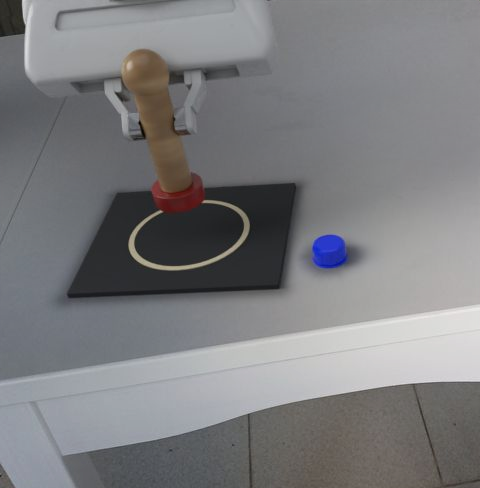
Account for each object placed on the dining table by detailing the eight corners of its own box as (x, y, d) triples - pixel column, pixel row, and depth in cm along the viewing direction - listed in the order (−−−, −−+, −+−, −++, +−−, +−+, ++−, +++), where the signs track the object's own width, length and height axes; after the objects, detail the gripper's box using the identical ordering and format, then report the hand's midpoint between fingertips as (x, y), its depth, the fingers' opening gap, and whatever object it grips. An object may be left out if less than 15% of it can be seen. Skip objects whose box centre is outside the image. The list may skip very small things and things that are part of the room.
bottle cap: (307, 265, 62) (304, 249, 61) (322, 246, 64) (320, 229, 63) (339, 272, 61) (337, 255, 60) (353, 252, 63) (351, 235, 62)
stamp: (150, 214, 62) (102, 64, 53) (161, 187, 65) (118, 41, 56) (200, 212, 62) (161, 60, 53) (209, 184, 65) (173, 36, 56)
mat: (68, 299, 61) (65, 292, 61) (118, 197, 73) (116, 191, 72) (279, 290, 60) (278, 283, 59) (296, 187, 71) (295, 181, 71)
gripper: (1, -40, 56) (15, 136, 56) (263, -69, 56) (280, 108, 55) (38, 2, 62) (51, 160, 62) (273, -24, 62) (288, 135, 61)
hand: (161, 136), depth 59 cm, fingers closed on stamp, 3 cm apart
